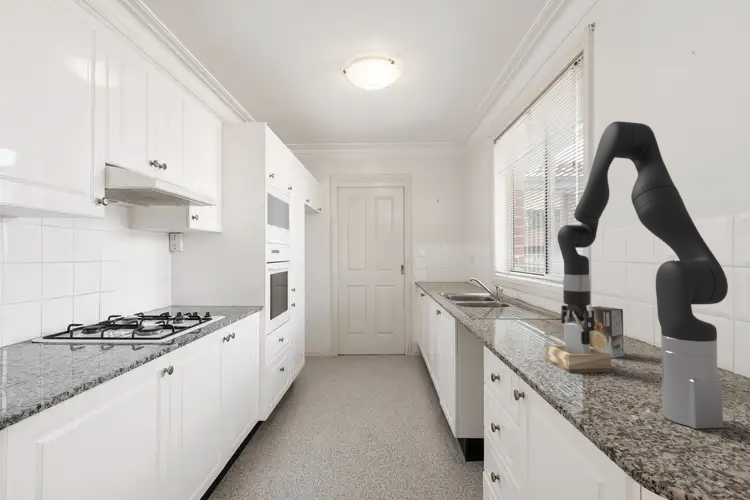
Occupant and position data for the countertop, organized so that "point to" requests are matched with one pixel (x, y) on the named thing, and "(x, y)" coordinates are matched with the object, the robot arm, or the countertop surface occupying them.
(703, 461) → the countertop surface
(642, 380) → the countertop surface
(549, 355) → the light wooden tray
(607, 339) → the coffee box
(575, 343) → the skincare box
